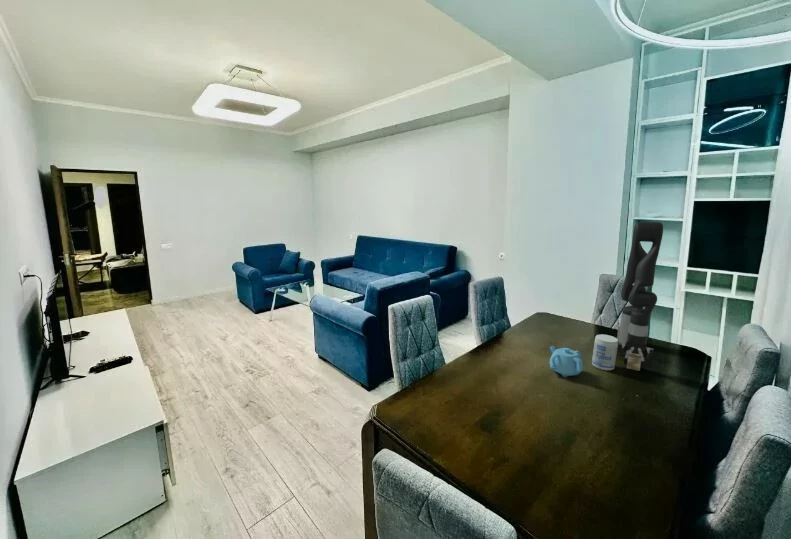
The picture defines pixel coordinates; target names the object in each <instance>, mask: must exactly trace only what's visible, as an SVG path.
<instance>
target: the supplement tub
mask: <svg viewBox="0 0 791 539" xmlns="http://www.w3.org/2000/svg"><path fill="white" fill-rule="evenodd" d="M593 343H594V344H593V352H592V359H591V364H592V366H593V367H595V368H596V369H599V370H602V371H612V370H615V366H616V359H617V353H618V348H619V342H618V339H617V337H615V336H612V335H610V334H609V335H608V334H602V333H601V334H596V336H595V338H594V342H593Z"/></svg>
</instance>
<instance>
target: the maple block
mask: <svg viewBox="0 0 791 539" xmlns="http://www.w3.org/2000/svg"><path fill="white" fill-rule="evenodd" d="M640 365H641V358H640V355H639V354H636V353H631V354H630V355H629V356H628V361H627V365H626V369H628V370H629V369H630V370H633V371H638V372H639V371H641V368H640Z"/></svg>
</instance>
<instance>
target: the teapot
mask: <svg viewBox="0 0 791 539" xmlns="http://www.w3.org/2000/svg"><path fill="white" fill-rule="evenodd" d="M549 349H550V351H551V356H550V358H549V365H550V366H549V367H550V370H552V371H554V372H556V373H558V374H560V375H561V377H563V378H567V377H571V376H578V375H579V374H581V372H582V371H584V366H583V359H581V358H582V353H581V352H580V351H579V350H573V349H571V348H568V347H562V348H557V349H556V346H555V345H551V346H549Z"/></svg>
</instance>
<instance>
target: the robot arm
mask: <svg viewBox="0 0 791 539" xmlns="http://www.w3.org/2000/svg"><path fill="white" fill-rule="evenodd" d="M663 235H664V225H663V223H662V222H660V221H637V222H636V223H635V224H634V227H633V230H632V236H631V237H632V238H631V247H630V248H631V249H630V252H629V256H628V261H627V264H626V273H625V278H624V281H623V284H622V287H621V292H620V297H621V300H622V301H624V302H628V303H629V304H630V305H627V306H624V307H623V308H622V311H621V319H620V324H618V327H617V336H616V338H617V339H618V348H619V354H620V355H619V356H621V357H623V364H624V365H625V366H627V361H628V356H629V355H630V354H631V353H633V354H639V355H640V358H641V365H640V369H642V368H643V367H644V365H645V364H644V363H645V362H649V361H650V359H651V358H652V356H653V354H654V348H653V347H648V345H647V341H648V337H649V335H648V333H649V324H650V317H651V314H652V312H653V310H654V308H655V306H656V305H657V302H658V296H657V294H656V293H655V292H652V291H647V289H646V288H647V287H652V286H653V285H654V283H655V275H656V273H655V272H656V265H657V261H658V258H659V253H660V251H661V250H660V249H661V245H662V241H663ZM641 242H642V243H643V242H644V243H647V242H648V243H652V245H651V247H650V249H649V251H648V252H646V250H645V249H644V248H643V246H642V243H641ZM625 347H626V349H627V350H626V352H625V353H624V350H623V349H624V348H625ZM645 351H647V354H646V356H644V352H645Z"/></svg>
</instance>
